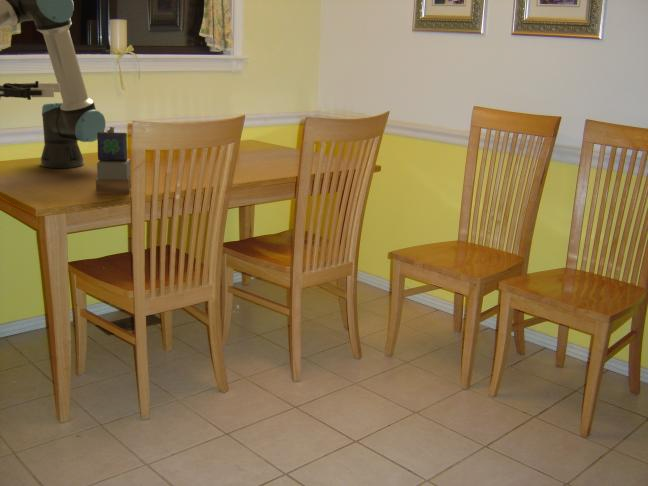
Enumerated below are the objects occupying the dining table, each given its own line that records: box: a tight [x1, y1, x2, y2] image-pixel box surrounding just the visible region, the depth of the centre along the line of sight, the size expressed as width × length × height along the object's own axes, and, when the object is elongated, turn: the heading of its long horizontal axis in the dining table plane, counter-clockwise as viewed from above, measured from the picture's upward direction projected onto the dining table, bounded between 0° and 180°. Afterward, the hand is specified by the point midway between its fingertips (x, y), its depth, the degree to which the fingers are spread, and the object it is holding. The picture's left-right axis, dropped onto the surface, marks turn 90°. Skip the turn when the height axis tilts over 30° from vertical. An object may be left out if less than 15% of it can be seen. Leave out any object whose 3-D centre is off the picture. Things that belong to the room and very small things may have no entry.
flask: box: [96, 126, 128, 161], centre depth 242 cm, size 9×3×11 cm, turn 95°
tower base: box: [95, 173, 132, 195], centre depth 245 cm, size 10×10×5 cm
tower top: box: [96, 158, 132, 180], centre depth 243 cm, size 9×9×5 cm
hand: (57, 90), depth 237 cm, fingers open, 13 cm apart
